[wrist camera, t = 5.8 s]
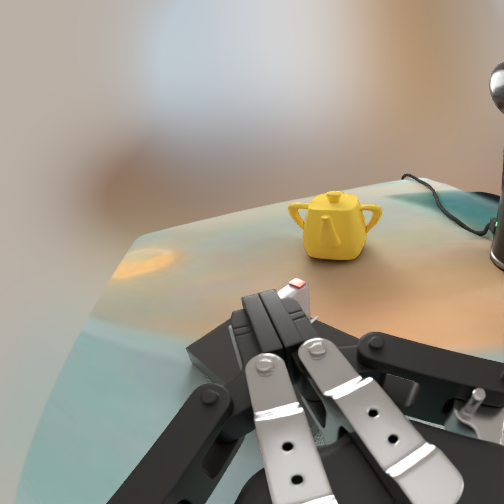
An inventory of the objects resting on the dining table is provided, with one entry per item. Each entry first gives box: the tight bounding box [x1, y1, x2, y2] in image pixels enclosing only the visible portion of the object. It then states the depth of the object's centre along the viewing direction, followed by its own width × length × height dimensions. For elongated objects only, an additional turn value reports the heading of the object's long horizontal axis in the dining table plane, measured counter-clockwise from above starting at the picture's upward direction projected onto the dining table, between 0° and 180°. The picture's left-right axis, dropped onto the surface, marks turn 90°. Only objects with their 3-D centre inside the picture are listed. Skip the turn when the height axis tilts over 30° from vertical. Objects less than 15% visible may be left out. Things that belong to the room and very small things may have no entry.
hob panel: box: [186, 316, 359, 436], centre depth 28 cm, size 16×13×3 cm
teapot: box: [288, 191, 382, 260], centre depth 46 cm, size 14×13×10 cm
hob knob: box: [228, 278, 311, 370], centre depth 26 cm, size 8×2×6 cm, turn 133°
